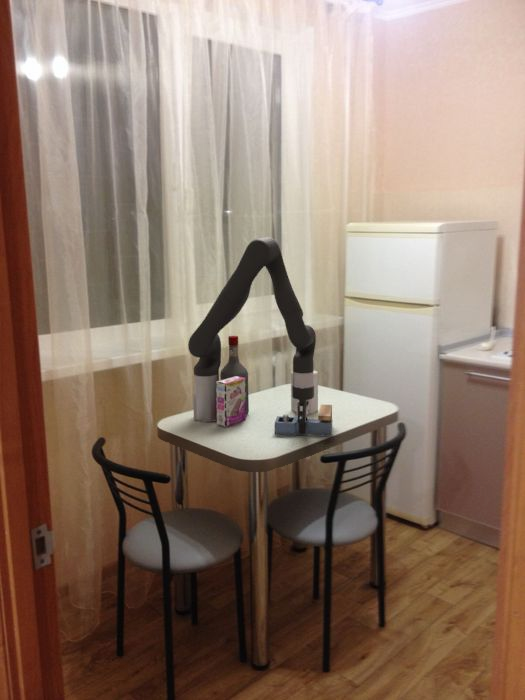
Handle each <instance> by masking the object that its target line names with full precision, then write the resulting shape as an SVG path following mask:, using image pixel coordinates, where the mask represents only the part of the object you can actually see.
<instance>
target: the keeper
mask: <svg viewBox="0 0 525 700" xmlns="http://www.w3.org/2000/svg"><path fill="white" fill-rule="evenodd" d="M318 410H319V411H318V416H317V419H318V420H332V421H333V405H332V404H320V407H319V409H318Z"/></svg>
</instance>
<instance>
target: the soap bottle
mask: <svg viewBox="0 0 525 700" xmlns="http://www.w3.org/2000/svg"><path fill="white" fill-rule="evenodd" d="M313 372H314V397H313V398H312V399H309V400H308V402H309V411H308V415H311V414H313V413H316V412H317V411H318V410H319V371H316V370H314V369H313ZM292 375H293V370H291V372H290V398H291V399H290V402H291V403H290V410H291V411H292V412H294V413H296V414H297V404H298V401H299V400H298V399H294V398H293V397H292ZM315 411H316V412H315Z"/></svg>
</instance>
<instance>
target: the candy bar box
mask: <svg viewBox="0 0 525 700" xmlns="http://www.w3.org/2000/svg"><path fill="white" fill-rule="evenodd" d="M245 379H246V378H243V377H238V376H235V377H231V378H228V379H224V380H220V379H219V381H217V382H216V402H217V403H216V408H217V420H216V425H217V426H219V427H222V428H228V427H230V426H233V425H236V424H239V423H241V422H244V421H246V420H247V418H246V415H247V414H246V398H245V396H246V386H245V385H246V384H245V383H246V382H245Z"/></svg>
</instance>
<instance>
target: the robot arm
mask: <svg viewBox="0 0 525 700" xmlns="http://www.w3.org/2000/svg"><path fill="white" fill-rule="evenodd" d="M264 267H265V268H266V271H268V274H269V277H270V279H271V282H272V288H273V295H274V300H275V303H276V306H277V308H278V310H279V312H280V315H281V317H282V319H283V321H284V325H285V328H286V329H285V330H286V332H287V335H288V339H289V341H290V343H291V344H292V346H293V347H295V353H294V355H293V358H292V371H293V375H292V397H293V398H294V399H298V400H299V401H298V404H297V413H296V415H297V416H296V417H297V418H298V420H297V422H298V423H299V433H300V434H305V423H306V419H309V416H308V415H309V414H308V411H309V402H308V400H309V399H312V398H313V397H314V372H313V370H314V368H315V367H314V366H315V365H314V364H315V363H314V356H315V351H316V350H315V349H316V345H317V344H316V342H317V341H316V340H317V336H316V335H317V334H316V332H315V331H316V330H315V329H314V328H313V327H312V326H310V325H307V324H305V322H304V317H303V316H304V312H303V308H302V306H301V303H300V302H299V300H298V298H297V295H296V294H295V291H294V289H293V286H292V284H291V281H290V278H289V275H288V272H287V269H286V266H285V262H284V259H283V254H282V251H281V248H280V245H279V243H278V242H277V241H276V239H274V238H272V237H269V236H265V237H259V238H255V239H253V240H252V241H250V242H249V244H248V245H247V246H246V248H245V250H244V251H243V254H242V256H241V258H240V260H239V263H238V265H237V267H236V269H235V270H234V272H233V273H232V274H231V276H230V278H229V279H228V280H227V282H226V284H225V285H224V287H223V288H222V289H221V290H220V293H219V294H218V296H217V298H216V300H214V301H215V302H214V303H213V305H212V306H211V307H210V310H209V311H208V312H207V314H206V316H205V317H204V318H203V320H202V322H201V323H200V324H199V325H198V327H197V328H196V329H195V331H194V332H193V333H192V334H191V336H190V337H189V340H188V344H187V348H188V352H189V354H190V355H192V356H193V357H195V358H199V359H198V360H197V362H196V364H195V365H193V387H194V388H193V389H194V393H193V395H192V400H193V401H192V402H193V403H192V404H193V407H192V408H193V421H198V422H203V423H205V422H208V423H209V422H210V423H211V422H215V421H216V422H217V408H216V403H217V402H216V382H217V381H220V367H221V364H222V363H221V361H222V343H221V337H220V335H219V333H220V332H221V330H223V329H224V328H225V327H226V326H227V325H228V324H230V322H232V321H233V320H234V319H235V318H236V317H237V316H238V314H239V313H240V312H241V310H242V309H243V307H244V306H245V304H246V303H247V301H248V299H249V297H250V292H251V288H252V285H253V282H254V280H255V279H256V277H257V276H258V275H259V273H260V272H261V270H262V269H264ZM300 418H301V419H300Z"/></svg>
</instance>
